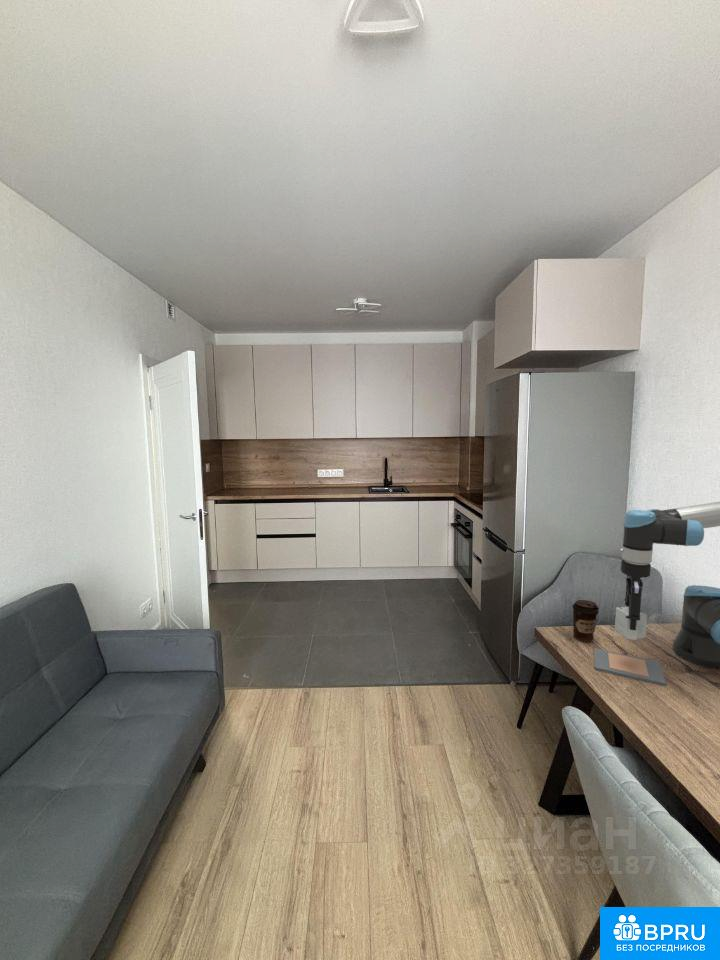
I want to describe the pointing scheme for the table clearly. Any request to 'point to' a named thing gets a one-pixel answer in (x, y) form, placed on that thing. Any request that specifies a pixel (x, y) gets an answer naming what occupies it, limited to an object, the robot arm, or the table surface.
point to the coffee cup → (584, 620)
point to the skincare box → (622, 622)
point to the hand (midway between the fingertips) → (629, 632)
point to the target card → (629, 666)
